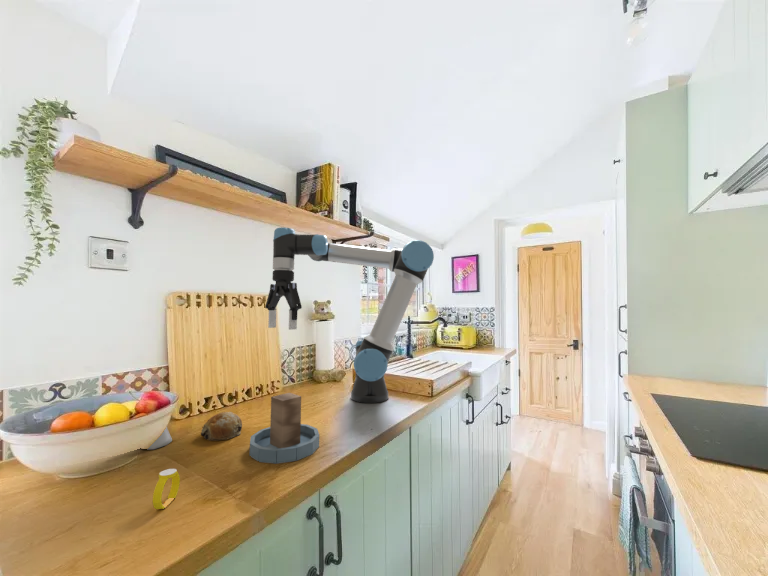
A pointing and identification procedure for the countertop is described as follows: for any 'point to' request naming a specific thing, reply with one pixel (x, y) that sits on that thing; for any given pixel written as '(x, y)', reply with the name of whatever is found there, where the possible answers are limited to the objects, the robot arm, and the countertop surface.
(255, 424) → the countertop surface
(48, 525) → the countertop surface
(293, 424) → the box
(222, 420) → the bread roll
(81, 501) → the countertop surface
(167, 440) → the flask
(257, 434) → the dish
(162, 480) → the watch
